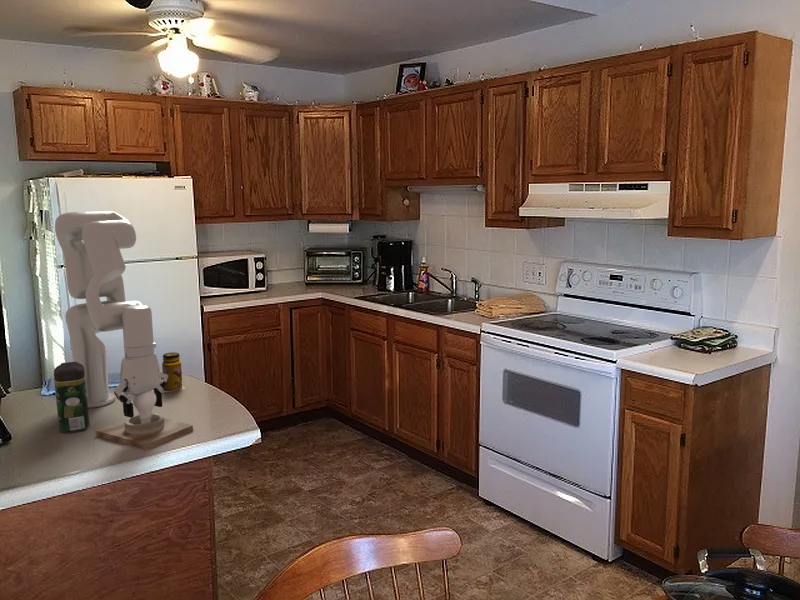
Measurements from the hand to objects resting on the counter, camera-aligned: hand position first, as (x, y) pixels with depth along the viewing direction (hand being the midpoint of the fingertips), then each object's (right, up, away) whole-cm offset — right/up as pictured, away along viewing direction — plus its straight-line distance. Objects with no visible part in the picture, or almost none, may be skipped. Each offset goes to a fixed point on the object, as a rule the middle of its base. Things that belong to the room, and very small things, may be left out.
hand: (143, 411), depth 185 cm
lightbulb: (0, -5, +2) cm, 5 cm away
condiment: (-7, +1, +41) cm, 42 cm away
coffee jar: (-22, -6, +5) cm, 23 cm away
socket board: (0, -6, +1) cm, 6 cm away
